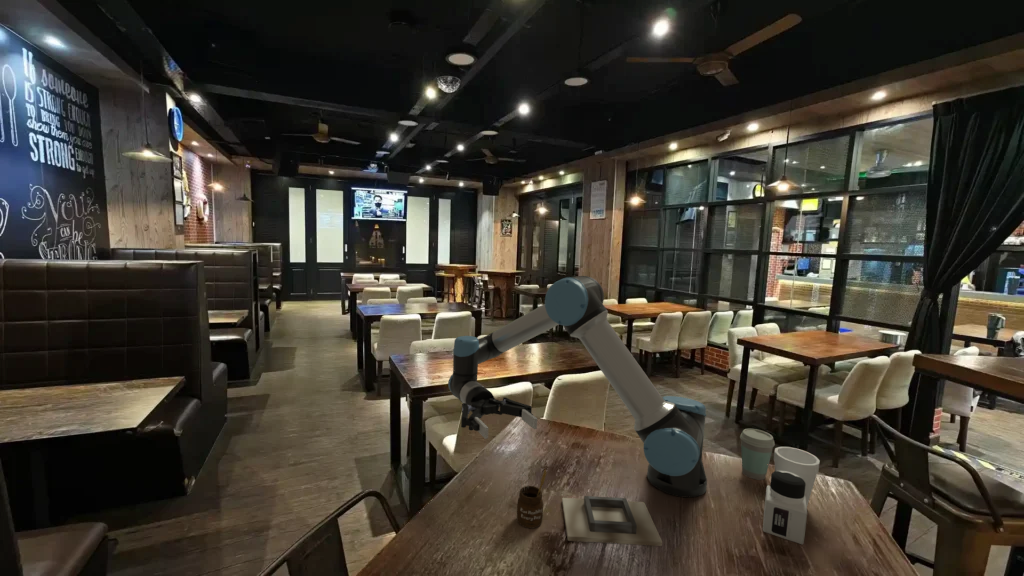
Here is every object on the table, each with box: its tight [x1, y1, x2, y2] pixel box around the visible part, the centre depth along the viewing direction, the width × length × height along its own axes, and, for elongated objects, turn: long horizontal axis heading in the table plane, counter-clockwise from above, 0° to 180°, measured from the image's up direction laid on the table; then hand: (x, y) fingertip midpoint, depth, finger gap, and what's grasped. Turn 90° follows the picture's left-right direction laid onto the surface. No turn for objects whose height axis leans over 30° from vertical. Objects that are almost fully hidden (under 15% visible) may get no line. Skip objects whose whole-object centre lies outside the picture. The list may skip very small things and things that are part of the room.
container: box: [762, 470, 808, 545], centre depth 97 cm, size 8×8×13 cm
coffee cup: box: [739, 428, 776, 481], centre depth 121 cm, size 9×9×12 cm
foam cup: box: [773, 446, 821, 507], centre depth 107 cm, size 10×9×13 cm
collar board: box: [561, 495, 663, 547], centre depth 98 cm, size 20×14×3 cm
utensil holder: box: [516, 468, 547, 529], centre depth 97 cm, size 6×6×12 cm
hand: (512, 428), depth 104 cm, fingers open, 13 cm apart
